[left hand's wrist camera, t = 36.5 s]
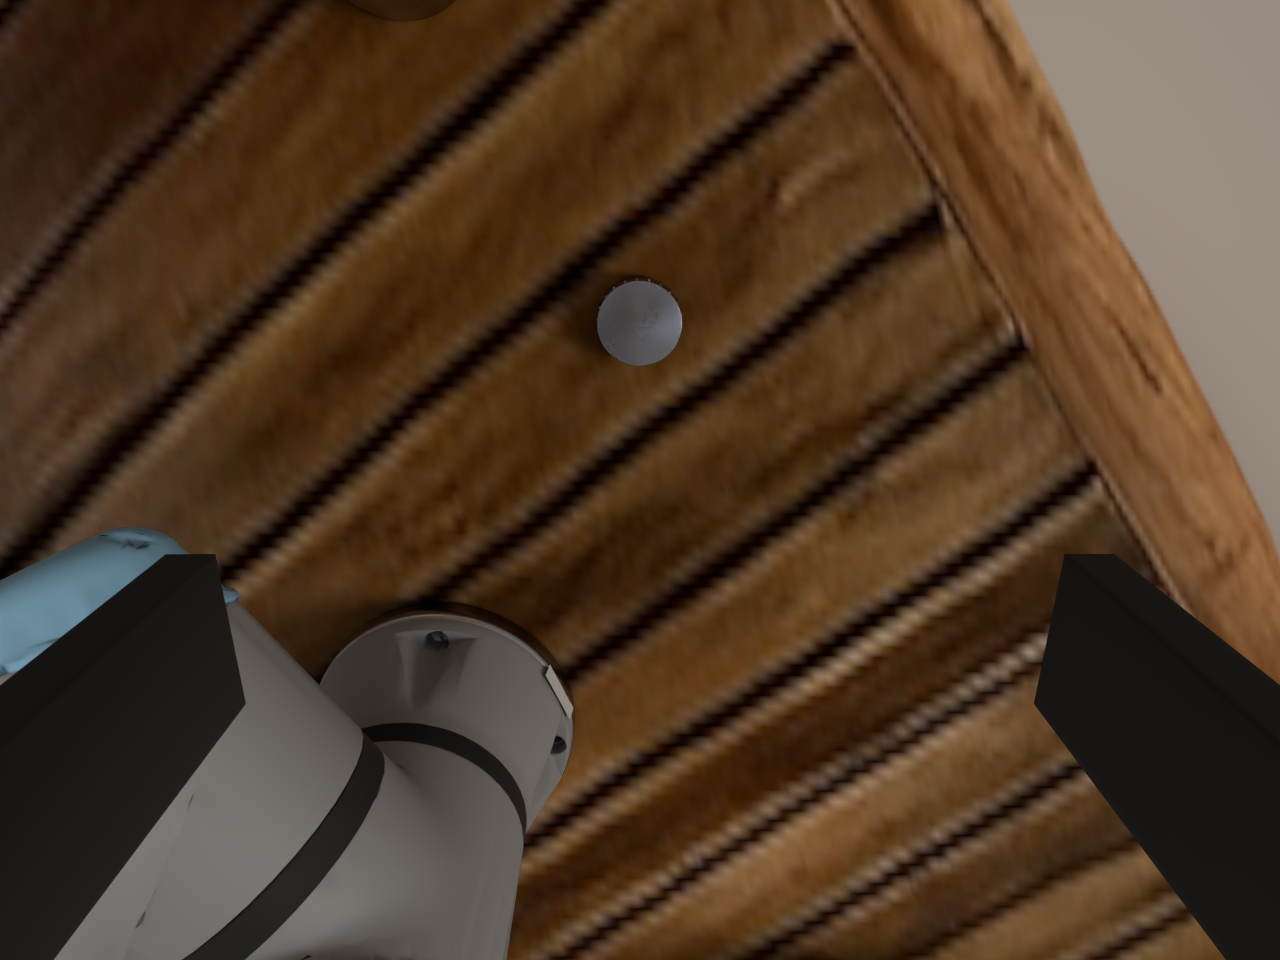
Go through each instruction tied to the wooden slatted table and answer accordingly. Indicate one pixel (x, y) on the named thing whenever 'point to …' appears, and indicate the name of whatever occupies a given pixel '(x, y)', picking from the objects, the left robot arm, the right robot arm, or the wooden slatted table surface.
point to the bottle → (403, 8)
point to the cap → (639, 321)
